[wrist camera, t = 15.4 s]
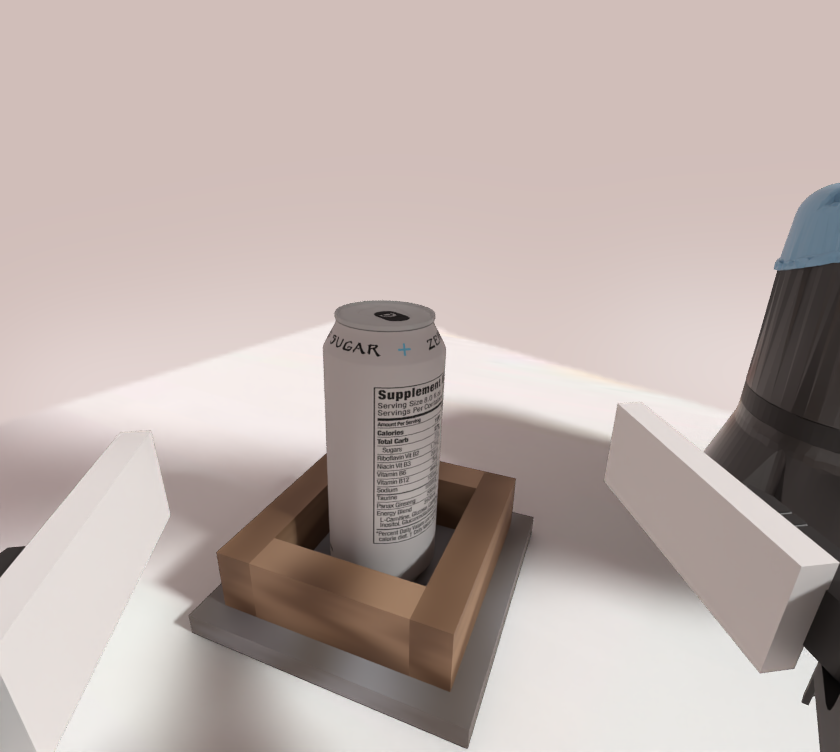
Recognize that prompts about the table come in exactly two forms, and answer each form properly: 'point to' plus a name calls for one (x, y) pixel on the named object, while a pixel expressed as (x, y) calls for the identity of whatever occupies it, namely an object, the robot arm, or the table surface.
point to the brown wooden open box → (376, 601)
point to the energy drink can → (384, 434)
